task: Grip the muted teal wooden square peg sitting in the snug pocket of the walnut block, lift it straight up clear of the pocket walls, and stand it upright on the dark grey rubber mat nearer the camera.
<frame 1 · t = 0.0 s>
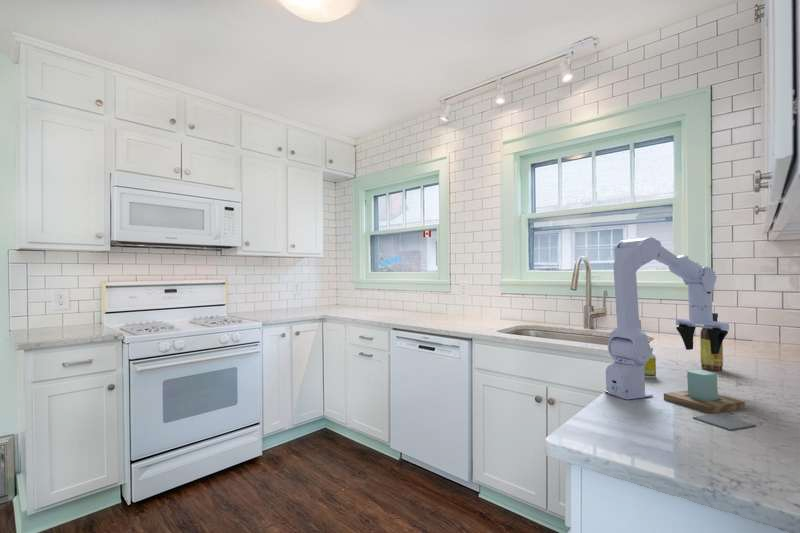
hand: (701, 351, 121), 10 cm above the counter, fingers open, 7 cm apart
rubber mat: (723, 422, 90), on the counter
sauce bottle: (712, 369, 141), on the counter
peg: (702, 388, 104), in the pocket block
supplement bottle: (646, 377, 132), on the counter
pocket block: (702, 403, 104), on the counter
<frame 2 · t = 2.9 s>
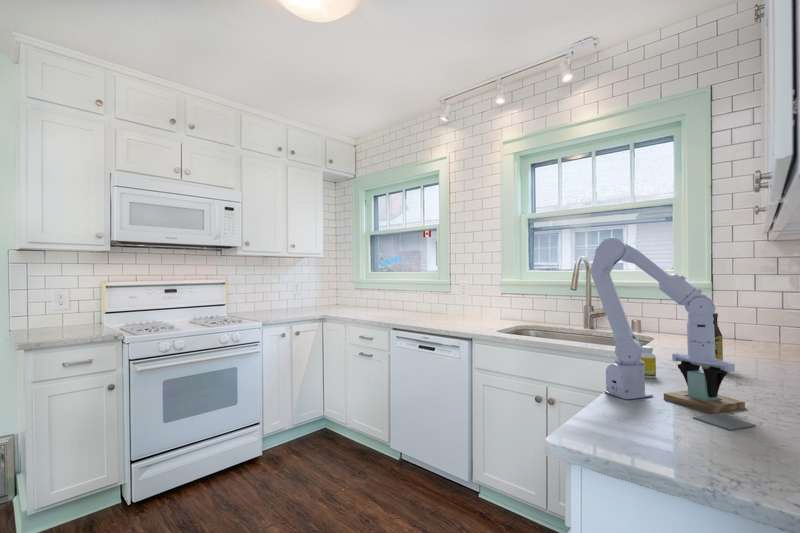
hand: (702, 394, 104), 2 cm above the counter, fingers closed on peg, 4 cm apart
peg: (702, 388, 104), in the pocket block, touching gripper
everything else where it was.
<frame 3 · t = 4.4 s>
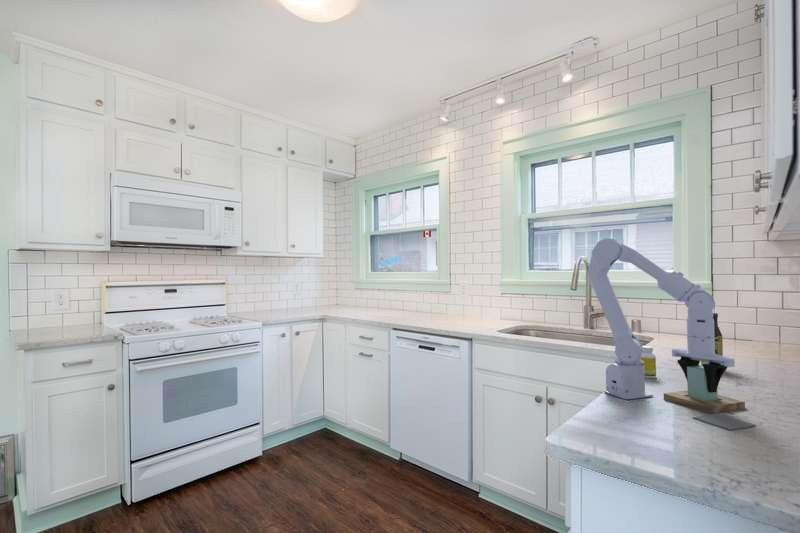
hand: (702, 389, 104), 4 cm above the counter, fingers closed on peg, 4 cm apart
peg: (702, 383, 104), point 5 cm above the counter, touching gripper
everything else where it was.
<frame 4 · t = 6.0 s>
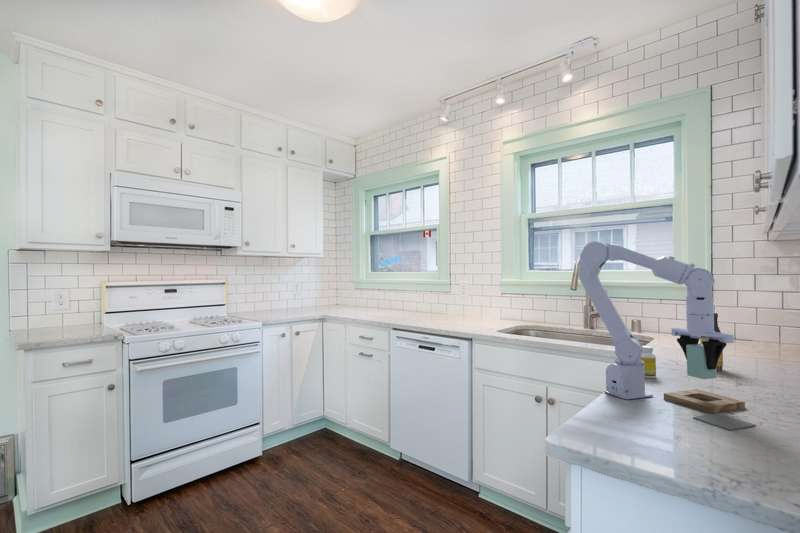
hand: (701, 367, 104), 9 cm above the counter, fingers closed on peg, 4 cm apart
peg: (701, 361, 104), point 11 cm above the counter, touching gripper
everything else where it was.
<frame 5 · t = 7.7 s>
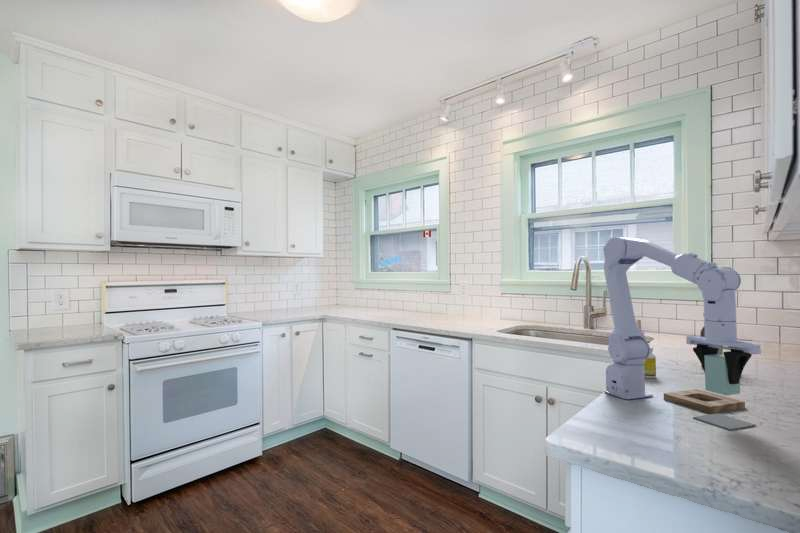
hand: (722, 381, 91), 9 cm above the counter, fingers closed on peg, 4 cm apart
peg: (722, 373, 91), point 11 cm above the counter, touching gripper
everything else where it was.
when the fingers open (4 cm above the counter, at t = 9.3 s): peg drops 1 cm, resting on rubber mat.
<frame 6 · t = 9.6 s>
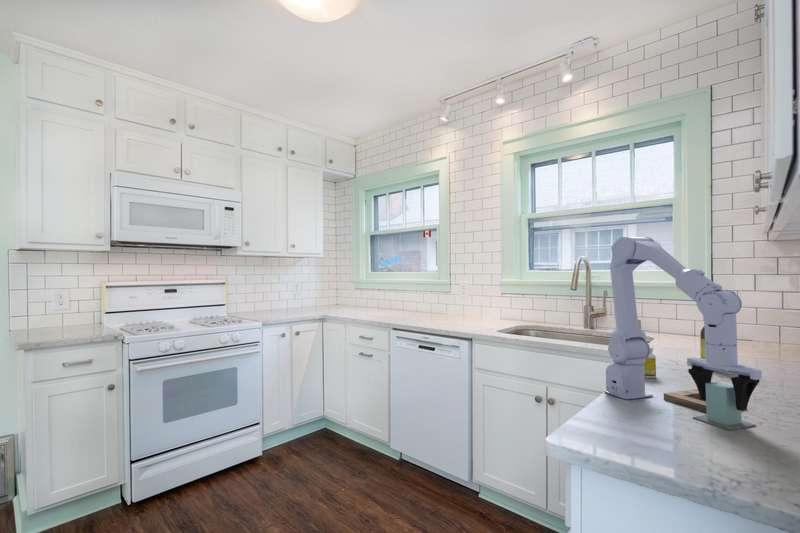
hand: (722, 404, 91), 4 cm above the counter, fingers open, 7 cm apart
peg: (723, 402, 91), resting on rubber mat
everything else where it was.
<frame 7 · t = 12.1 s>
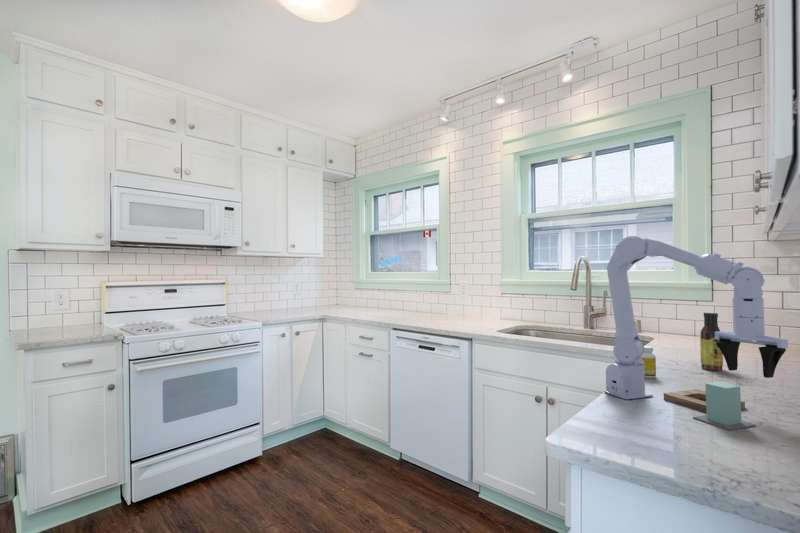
hand: (750, 373, 97), 9 cm above the counter, fingers open, 7 cm apart
nothing on the counter moved.
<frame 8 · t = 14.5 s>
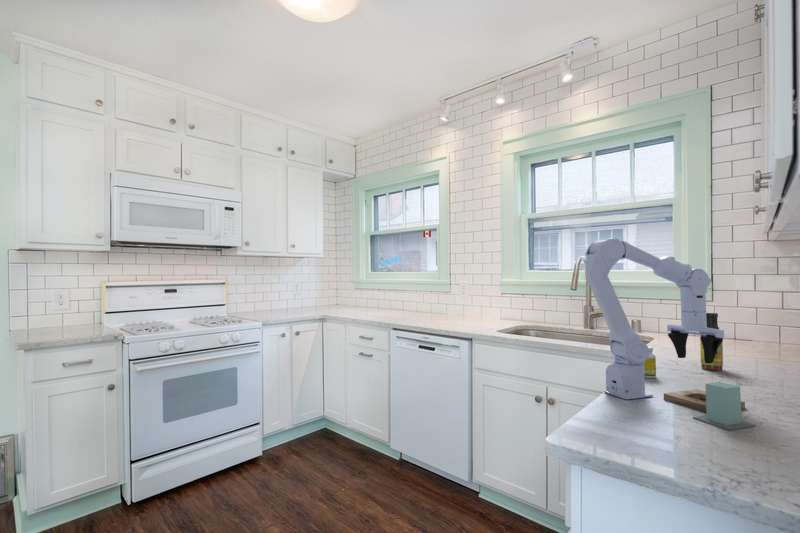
hand: (695, 360, 112), 9 cm above the counter, fingers open, 7 cm apart
nothing on the counter moved.
at the end: peg 0.0 cm from the target spot, resting on rubber mat; peg tilted 0°; the gripper is holding nothing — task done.
